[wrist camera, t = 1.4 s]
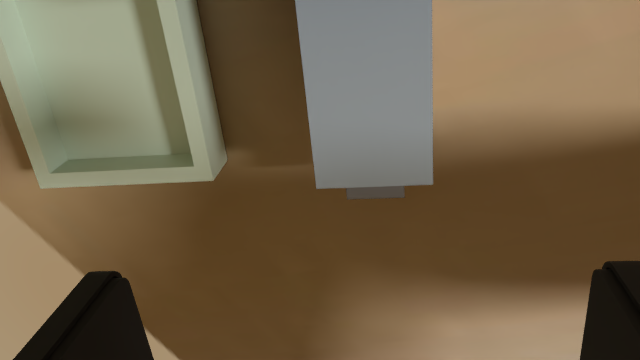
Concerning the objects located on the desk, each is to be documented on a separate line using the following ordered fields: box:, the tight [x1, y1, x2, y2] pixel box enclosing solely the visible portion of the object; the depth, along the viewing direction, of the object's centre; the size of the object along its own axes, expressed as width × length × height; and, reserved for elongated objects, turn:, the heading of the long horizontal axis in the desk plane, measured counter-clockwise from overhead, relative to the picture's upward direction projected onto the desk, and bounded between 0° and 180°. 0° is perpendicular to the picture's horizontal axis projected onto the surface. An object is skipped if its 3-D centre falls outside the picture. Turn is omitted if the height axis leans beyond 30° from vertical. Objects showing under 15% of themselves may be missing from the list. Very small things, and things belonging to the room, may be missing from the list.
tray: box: [0, 0, 228, 189], centre depth 24 cm, size 9×16×2 cm, turn 6°
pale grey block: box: [295, 0, 433, 199], centre depth 21 cm, size 5×13×6 cm, turn 5°
